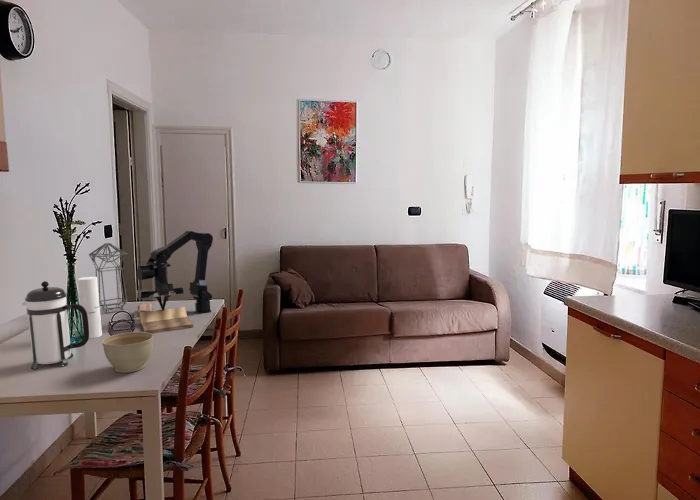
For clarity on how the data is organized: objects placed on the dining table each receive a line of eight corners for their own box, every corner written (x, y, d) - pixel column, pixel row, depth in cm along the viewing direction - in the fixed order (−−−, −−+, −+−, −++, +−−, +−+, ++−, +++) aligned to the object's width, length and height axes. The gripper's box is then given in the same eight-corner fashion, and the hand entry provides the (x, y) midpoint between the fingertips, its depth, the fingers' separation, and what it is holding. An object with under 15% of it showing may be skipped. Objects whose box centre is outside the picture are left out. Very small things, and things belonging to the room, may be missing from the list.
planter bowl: (153, 373, 171) (151, 342, 170) (101, 379, 167) (98, 347, 165) (157, 358, 187) (155, 329, 185) (109, 363, 182) (106, 334, 181)
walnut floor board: (187, 320, 240) (187, 317, 240) (193, 327, 227) (193, 324, 227) (142, 326, 231) (141, 323, 230) (145, 334, 218) (145, 330, 218)
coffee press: (44, 374, 173) (35, 287, 170) (20, 366, 182) (11, 283, 178) (92, 358, 188) (85, 278, 184) (68, 352, 196) (61, 275, 193)
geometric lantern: (99, 316, 252) (93, 245, 247) (93, 310, 264) (87, 243, 260) (133, 311, 261) (127, 242, 257) (125, 305, 274) (120, 240, 269)
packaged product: (134, 304, 257) (155, 302, 261) (134, 313, 258) (155, 311, 261) (133, 311, 240) (155, 309, 244) (133, 322, 241) (156, 319, 245)
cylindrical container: (105, 334, 219) (100, 277, 216) (91, 339, 213) (85, 280, 210) (94, 332, 222) (89, 276, 219) (79, 337, 216) (74, 279, 213)
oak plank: (184, 309, 246) (184, 306, 245) (187, 319, 241) (187, 316, 240) (139, 314, 237) (139, 312, 236) (141, 325, 232) (141, 323, 231)
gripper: (140, 282, 226) (143, 316, 228) (184, 277, 235) (186, 310, 237) (138, 278, 236) (140, 311, 238) (180, 274, 244) (182, 306, 246)
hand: (162, 309), depth 239 cm, fingers closed
